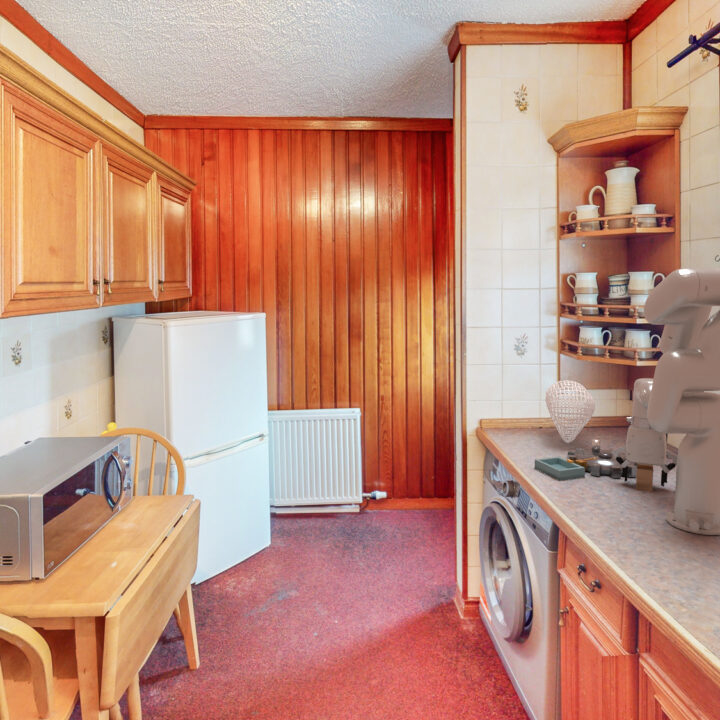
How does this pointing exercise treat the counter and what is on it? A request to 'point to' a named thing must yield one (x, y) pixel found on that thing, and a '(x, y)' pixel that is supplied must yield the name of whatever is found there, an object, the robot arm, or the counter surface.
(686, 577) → the counter surface
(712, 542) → the counter surface
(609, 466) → the sprocket
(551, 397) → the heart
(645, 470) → the link block
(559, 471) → the green rectangular tray
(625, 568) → the counter surface
